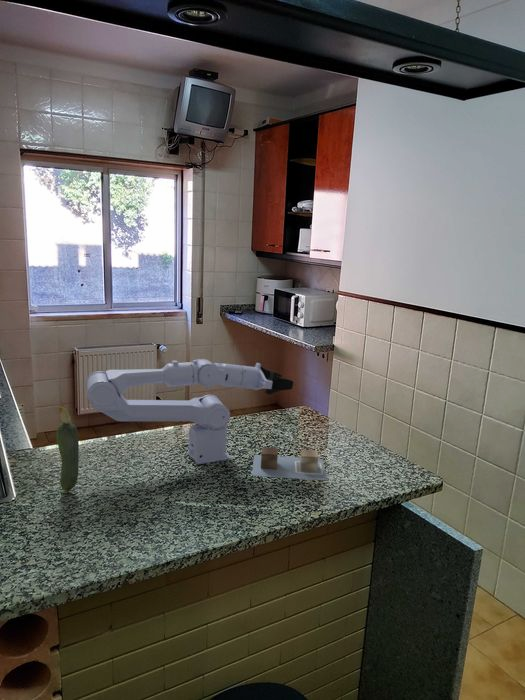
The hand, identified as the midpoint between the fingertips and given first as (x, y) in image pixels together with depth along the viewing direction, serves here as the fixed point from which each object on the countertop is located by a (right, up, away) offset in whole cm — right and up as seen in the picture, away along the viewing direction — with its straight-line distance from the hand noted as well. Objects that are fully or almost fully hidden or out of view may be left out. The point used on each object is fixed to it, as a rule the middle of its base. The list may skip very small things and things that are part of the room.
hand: (286, 381), depth 135 cm
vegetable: (-48, -23, -25) cm, 59 cm away
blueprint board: (0, -22, -8) cm, 23 cm away
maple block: (+5, -21, -8) cm, 23 cm away
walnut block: (-5, -21, -8) cm, 23 cm away
